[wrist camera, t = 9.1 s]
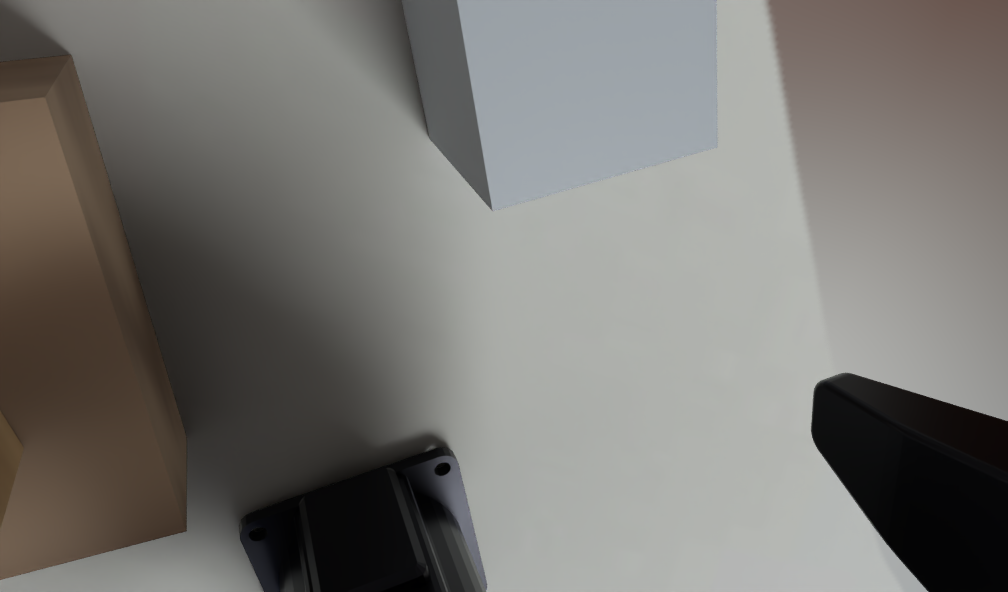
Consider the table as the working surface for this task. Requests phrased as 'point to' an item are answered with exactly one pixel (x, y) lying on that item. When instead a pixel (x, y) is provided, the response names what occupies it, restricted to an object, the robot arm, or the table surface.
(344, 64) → the table surface
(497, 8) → the grey cube
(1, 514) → the oak cube
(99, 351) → the walnut block
